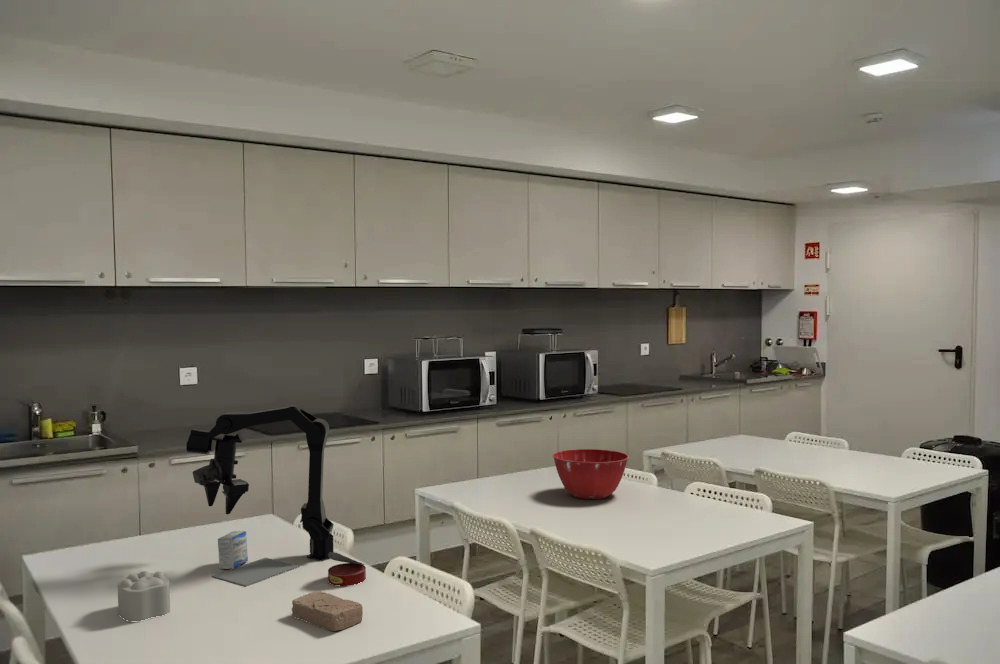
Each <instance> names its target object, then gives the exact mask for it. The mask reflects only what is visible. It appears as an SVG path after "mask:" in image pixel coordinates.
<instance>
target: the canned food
mask: <svg viewBox="0 0 1000 664" xmlns="http://www.w3.org/2000/svg"><path fill="white" fill-rule="evenodd" d="M328 557H329V558H328V559H330V560H332V561H337V562H341V563H340V564H335V565H332V566H331V567H329V568H328V570H327V573H328V574H327V575H328V578H327V579H328V581H329V582H328V583H329V584H330V583H331V584H330V585H332V584H333V585H332V586H335V585H340V586H339V587H348V586H347V585H352V586H355V585H354V584H356V585H359V584H358V583H360V582H362V583H363V581H364V580H365V579H367V578H366V577H367V569H366V568H367V567H366V566H365V565H366V564H365V563H362V562H360V561H357V560H355V559H352V558H350V557H348V556H345V555H343V554H340V553H339V552H335V551H333V552H332V553H331V552H329V554H328ZM365 581H366V580H365ZM365 581H364V582H365ZM360 584H361V583H360Z"/></svg>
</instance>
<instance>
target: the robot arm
mask: <svg viewBox="0 0 1000 664" xmlns="http://www.w3.org/2000/svg"><path fill="white" fill-rule="evenodd" d="M285 421H291V422H292V423H293V424H294V425H295V426H296V427H297V428H299V429H300V430H301V431H302V432H303V433H305V438H306V443H307V448H308V452H309V456H308V457H309V459H308V460H309V461H308V463H309V464H308V485H307V488H308V490H307V492H308V493H307V502H304V503H303V505H302V506H301V507H300V513H301V515H300V516H301V518H300V521H299V523H302V524H301V525H302V528H303V529H304V530H305V531H306V532H307V533H308V535H309V538H310V539H309V554H307V555H306V558H307V559H308V558H309V559H313V560H317V561H321V562H323V561H324V560H327V559H330V558H329V557H328V554H329V552H331V553H332V552H334V535H332V531H333V529H334V525H335V524H334V523H333V522H332V521H331V520H330V519H329V518H328V517H327V514H326V508H325V503H324V499H323V489H324V488H323V487H324V459H325V457H324V455H325V448H326V446H327V445H326V444H327V440H328V436H329V432H330V425H329V423H328V422H327V420H326V419H323V418H317V417H316V416H315V415H314V414H311V413H310V412H308V411H306V410H304V409H303V408H301V406H299V405H297V404H291V405H289V406H284V407H277V408H271V409H264V410H258V411H252V412H251V411H250V412H249V411H228V412H225V413H223V414H221V415H220V416H219V417H218V418H217V419H216V420H215V425H214V427H212V429H210V430H203V429H199V428H192V429H191V430H190V434H189V436H188V439H187V442H186V444H185V445H186V452H187V453H188V454H198V455H207V456H208V455H209V454H210V453H211V452H214V456H213V458H210V460H209V464H208V465H204V466H201V467H200V468H197V469H195V470H193V471H191V472H192V477H193V481H194V483H195V484H198V485H200V486H202V487H203V488H204V491H205V495H206V501H207V506H208V507H213V506H214V503H215V501H216V498H217V495H218V493H219V489H220V486H221V485H222V489H223V491H221V492H222V494H223V495H224V496H225V514H226V515H230V514H231V513H232V511H233V510H234V508H235V506H236V505H237V503H238V502H239V500H240V498H241V497H242V496H243V494H246V493H248V492H249V488H250V483H248V481H247V480H244V479H241V478H237V474H235V473H234V470H235V465H238V463H239V460H236V455H237V454H236V453H237V446H238V444H241V443H243V442H245V438H244V437H243V436H242V435H241V433H240V432H238V431H241V430H243V429H247V428H251V427H254V426H261V425H266V424H268V425H269V424H273V423H279V422H285ZM236 432H238V433H237V434H236V435H234V434H232V433H236ZM221 434H222V435H224V436H220V435H221Z"/></svg>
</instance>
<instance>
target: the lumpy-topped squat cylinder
mask: <svg viewBox="0 0 1000 664" xmlns="http://www.w3.org/2000/svg"><path fill="white" fill-rule="evenodd" d="M170 586H171V585H170V580H169V579H168V578H167V577H166V576H165V574H164V573H163V572H162V571H156V572H154V573H150V572H149V571H147V570H142V571H140V572H139V573H136V574H135V573H130V574H128V576H127V577H124V578H123V579H121V580H120V581H119V582H118V583H117V606H118V607H117V610H118V614H117V615H118V616H119V615H120V616H121V617H122V618H124V619H125V620H128V621H141V620H145V619H148V618H151V617H156V616H160V617H163V616H162V615H164V616H166V615H165V614H167V613H168V614H169V613H170V612H171V595H170V593H171V592H170V588H171V587H170ZM168 614H167V615H168ZM120 616H119V617H120ZM121 617H120V618H121ZM122 618H121V619H122ZM156 618H157V617H156ZM151 619H152V618H151ZM125 620H124V621H125ZM148 620H149V619H148ZM145 621H146V620H145Z"/></svg>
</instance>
